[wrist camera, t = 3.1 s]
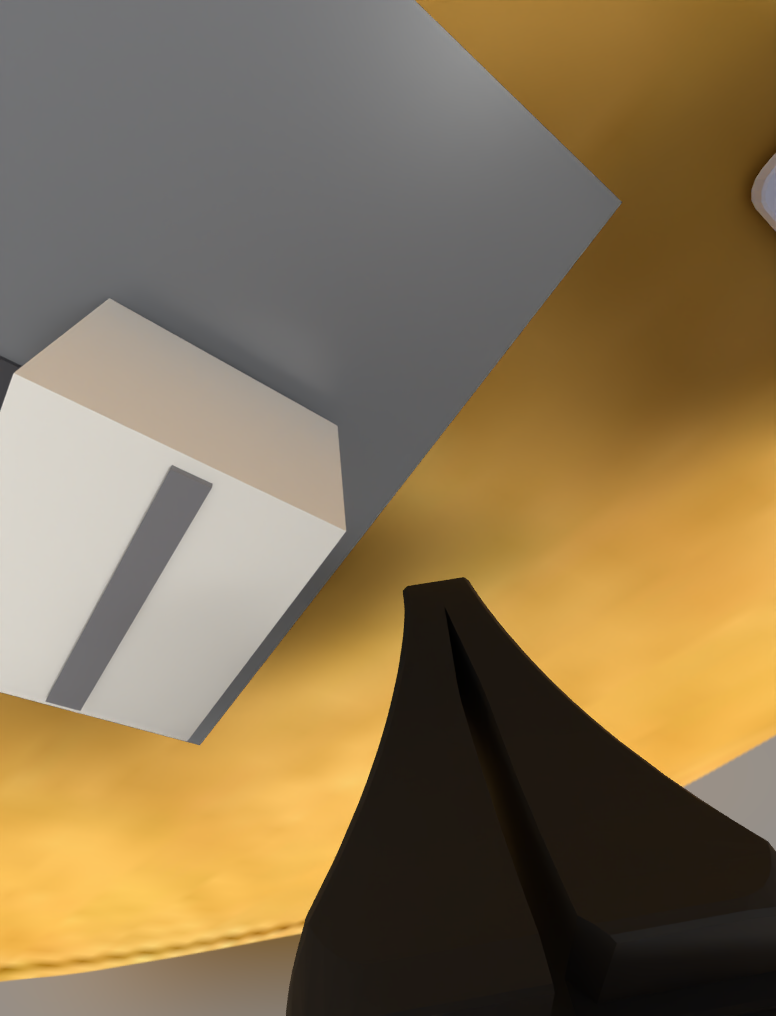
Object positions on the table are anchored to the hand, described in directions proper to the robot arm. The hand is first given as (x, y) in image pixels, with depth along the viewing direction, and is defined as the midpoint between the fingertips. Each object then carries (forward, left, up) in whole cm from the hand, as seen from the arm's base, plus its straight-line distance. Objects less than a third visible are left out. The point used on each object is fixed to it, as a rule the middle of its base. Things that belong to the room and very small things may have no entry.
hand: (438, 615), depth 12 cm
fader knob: (+6, 0, -1) cm, 6 cm away
